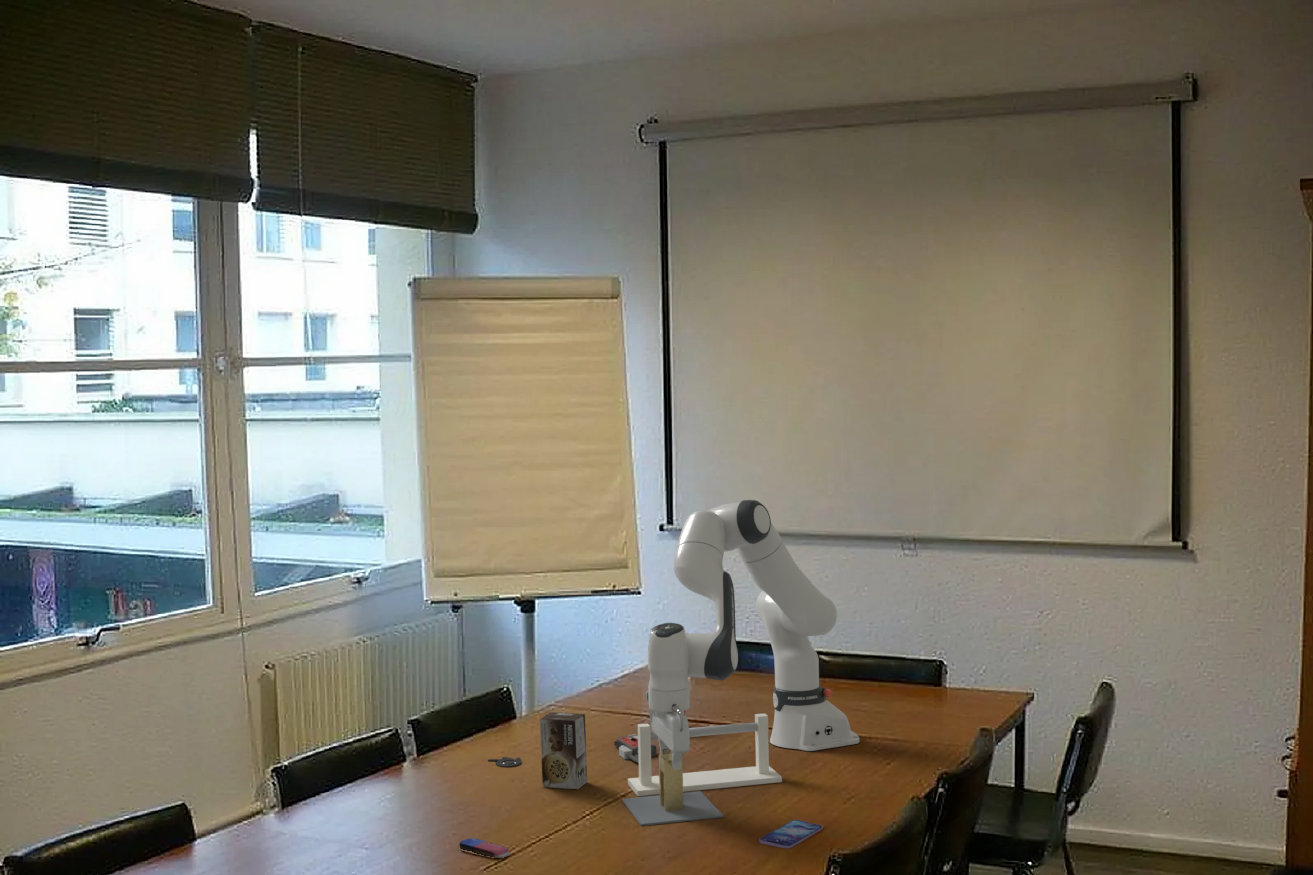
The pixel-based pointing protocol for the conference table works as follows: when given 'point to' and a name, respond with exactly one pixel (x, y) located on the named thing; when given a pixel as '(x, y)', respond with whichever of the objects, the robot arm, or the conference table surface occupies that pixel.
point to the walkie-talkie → (631, 747)
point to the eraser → (484, 848)
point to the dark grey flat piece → (507, 762)
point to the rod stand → (713, 778)
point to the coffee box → (563, 750)
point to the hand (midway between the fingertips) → (670, 763)
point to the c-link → (670, 784)
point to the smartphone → (790, 834)
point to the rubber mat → (654, 813)
